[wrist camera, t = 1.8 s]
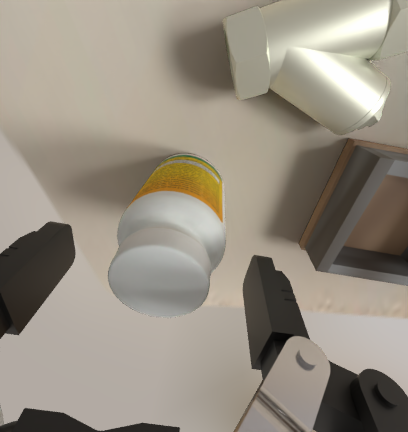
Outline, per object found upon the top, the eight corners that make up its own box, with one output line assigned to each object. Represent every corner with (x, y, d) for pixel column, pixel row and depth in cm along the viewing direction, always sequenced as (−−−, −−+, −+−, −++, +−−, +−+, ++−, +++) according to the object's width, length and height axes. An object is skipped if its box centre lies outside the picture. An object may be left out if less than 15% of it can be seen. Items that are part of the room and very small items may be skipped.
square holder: (476, 161, 15) (535, 181, 12) (398, 260, 20) (428, 291, 17) (348, 138, 15) (378, 152, 12) (298, 243, 19) (312, 272, 16)
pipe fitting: (370, 112, 15) (388, -36, 11) (413, 130, 11) (459, -71, 8) (243, 145, 16) (221, 23, 12) (251, 168, 13) (224, 15, 9)
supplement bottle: (228, 213, 18) (235, 325, 10) (163, 222, 19) (120, 333, 11) (217, 144, 16) (214, 221, 7) (142, 158, 16) (63, 241, 8)
